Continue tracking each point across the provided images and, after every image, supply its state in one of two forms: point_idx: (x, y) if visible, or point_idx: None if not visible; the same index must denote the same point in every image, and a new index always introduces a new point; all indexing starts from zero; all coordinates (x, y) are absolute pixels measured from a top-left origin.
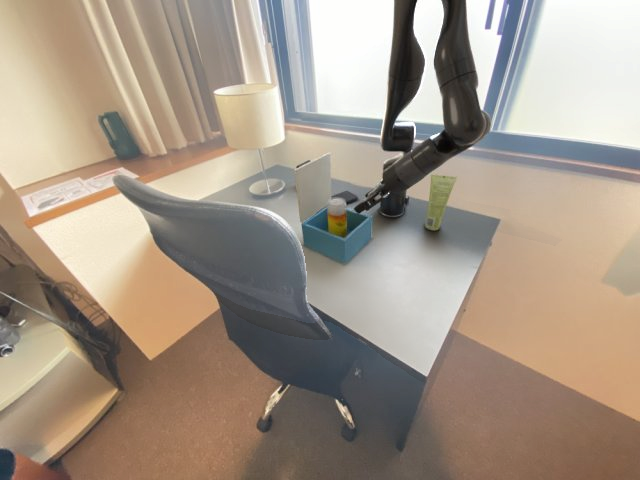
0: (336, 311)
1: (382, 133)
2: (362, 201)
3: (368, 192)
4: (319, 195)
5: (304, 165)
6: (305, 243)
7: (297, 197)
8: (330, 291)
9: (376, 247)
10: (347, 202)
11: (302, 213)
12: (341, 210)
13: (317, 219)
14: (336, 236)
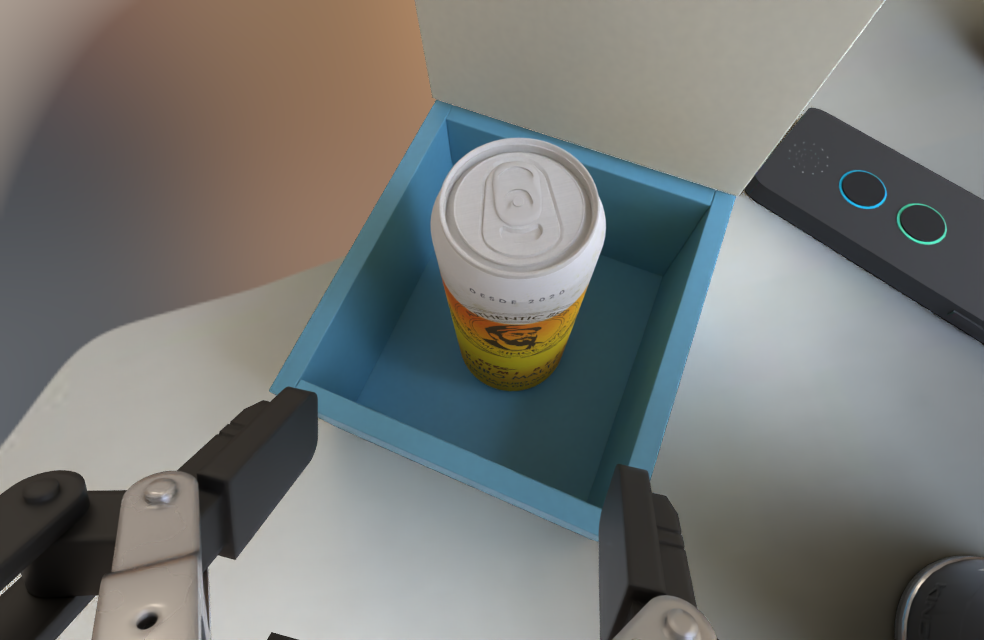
0: (21, 452)
1: None
2: (180, 478)
3: (622, 507)
4: (632, 62)
5: None
6: None
7: None
8: (141, 397)
9: (510, 586)
10: (952, 310)
11: (435, 50)
12: (451, 281)
13: None
14: (319, 327)
